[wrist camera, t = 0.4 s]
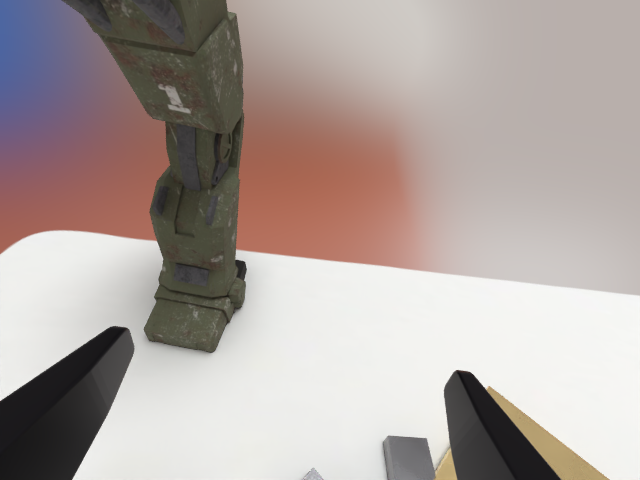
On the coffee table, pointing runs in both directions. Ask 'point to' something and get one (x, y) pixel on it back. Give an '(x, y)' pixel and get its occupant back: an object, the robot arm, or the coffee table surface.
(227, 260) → the mechanical leg
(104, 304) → the coffee table surface
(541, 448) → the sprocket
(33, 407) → the robot arm
